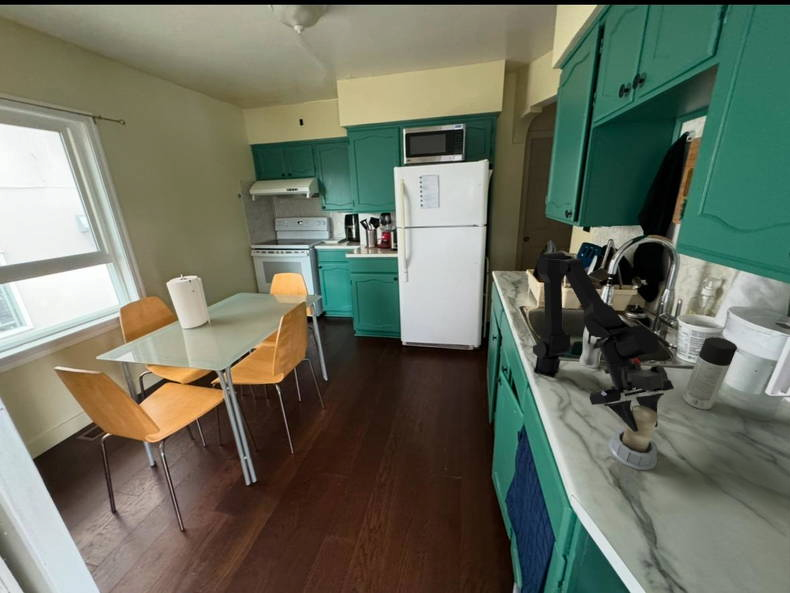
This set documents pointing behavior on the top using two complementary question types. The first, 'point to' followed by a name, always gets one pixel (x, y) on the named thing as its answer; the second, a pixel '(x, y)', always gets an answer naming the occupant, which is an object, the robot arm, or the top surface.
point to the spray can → (709, 372)
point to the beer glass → (590, 351)
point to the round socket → (632, 453)
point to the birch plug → (640, 429)
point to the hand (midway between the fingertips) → (645, 429)
